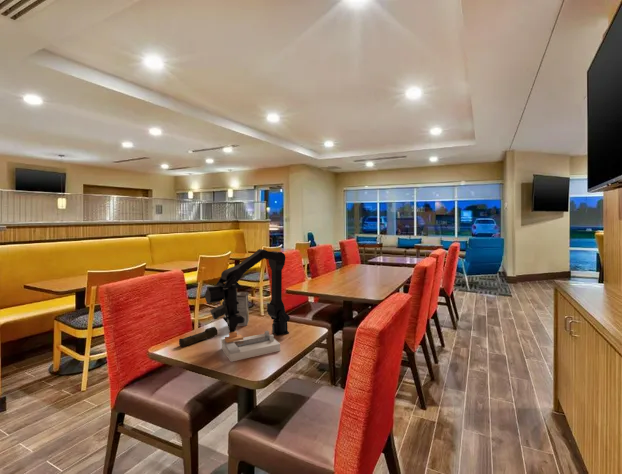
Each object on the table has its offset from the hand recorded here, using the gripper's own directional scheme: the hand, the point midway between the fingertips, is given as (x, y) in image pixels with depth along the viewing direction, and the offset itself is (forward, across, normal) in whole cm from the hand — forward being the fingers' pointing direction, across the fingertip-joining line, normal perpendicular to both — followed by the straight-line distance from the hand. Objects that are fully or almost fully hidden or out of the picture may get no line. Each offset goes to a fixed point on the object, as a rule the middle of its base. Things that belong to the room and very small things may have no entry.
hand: (231, 334), depth 144 cm
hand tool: (+6, -16, -11) cm, 20 cm away
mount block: (+6, +7, +6) cm, 11 cm away
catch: (+1, +3, 0) cm, 4 cm away
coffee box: (+6, -29, +13) cm, 33 cm away
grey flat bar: (+2, +7, +8) cm, 11 cm away
